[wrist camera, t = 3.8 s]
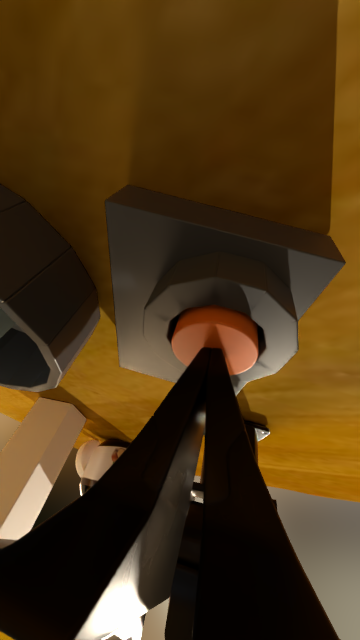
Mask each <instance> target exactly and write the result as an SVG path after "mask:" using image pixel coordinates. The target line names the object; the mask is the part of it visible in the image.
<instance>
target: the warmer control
mask: <svg viewBox="0 0 360 640" xmlns="http://www.w3.org/2000/svg"><path fill="white" fill-rule="evenodd" d="M105 209H106V220H107V231H108V242H109V254H110V265H111V276H112V287H113V298H114V309H115V320H116V332H117V343H118V354H119V365H120V367H122V368H126V369H129V370H133V371H136V372H140V373H143V374H147V375H150V376H154V377H157V378H161V379H164V380H168V381H171V382H175V383H176V382H177V381H178V379H179V378H180V377H181V375H182V374H183V372H184V371H185V370H186V368H187V367H188V366H186V365H184V364H183V363H182V362H181V361H180V360H179V359H178V358H177V357H176V356H175V354H174V352H173V350H172V345H171V341H172V337H173V334H174V331H175V328H176V325H177V322H178V319H179V316H180V313H181V312H182V311H184V310H185V309H186V308H193V307H201V306H208V305H218V306H221V307H225V308H229V309H232V310H236V311H240V312H243V313H246V314H247V315H248V316H249V317H250V318H251V319H252V320H254V321H255V322H256V323H257V326H258V358H257V360H256V362H255V363H254V365H253V366H252V367H251V368H249V369H248V370H246V371H244V372H242V373H239V374H235V375H230V377H231V381H232V384H233V387H234V391H235V394H236V395H237V394H238V393H239V391H240V390H241V389H242V388H243V387H244V385H245V384H246V383H247V382H249V381H252V380H255V379H258V378H262V377H265V376H268V375H271V374H274V373H277V372H278V371H279V370H280V369H281V368H282V367H283V366H284V365H285V364H286V363H287V362H288V361H289V360H290V359H291V358H292V357H293V356H294V355H295V354H296V353H297V351H298V320H299V319H300V318H301V317H302V315H303V314H304V313H305V312H306V311H307V309H308V308H309V307H310V306H311V304H312V303H313V302H314V301H315V300H316V298H317V297H318V296H319V295H320V294H321V292H322V291H323V290H324V289H325V288H326V286H327V285H328V284H329V283H330V282H331V280H332V279H333V278H334V277H335V276H336V274H337V273H338V272H339V271H340V269H341V268H342V267H343V266H344V265H345V263H346V262H345V260H344V259H343V257H342V255H341V254H340V252H339V250H338V248H337V247H336V245H335V243H334V242H333V240H332V238H331V237H330V236H327V235H323V234H319V233H315V232H312V231H308V230H304V229H300V228H296V227H292V226H288V225H284V224H280V223H276V222H272V221H268V220H264V219H260V218H256V217H253V216H249V215H245V214H241V213H237V212H233V211H229V210H225V209H221V208H217V207H213V206H209V205H205V204H201V203H197V202H194V201H190V200H186V199H182V198H178V197H174V196H170V195H166V194H162V193H158V192H154V191H150V190H146V189H142V188H139V187H135V186H131V185H126V186H125V187H123V188H122V189H121V190H119V191H118V192H116V193H115V194H113V195H112V196H110V197H109V198H108V199H106V200H105Z"/></svg>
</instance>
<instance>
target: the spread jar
mask: <svg viewBox="0 0 360 640" xmlns="http://www.w3.org/2000/svg"><path fill="white" fill-rule="evenodd" d="M129 445H130V443H128V442H125V441H121V440H117V439H108V440H106V441H104V442H102V443H100V442H98V441H97V440H91V441H88V442H85V443H84V444H82V445H81V447H80V448H79V450H78V452H77V455H76V469H77V472H78V474H79V476H80V477H81V478H82V479H81V484H80V491H81V496H82V495H83V494H84V493H85V492H87V491H88V490H89V489H90V488H91V487H92V486H93V485H94V484H95V483H96V482H97V481H98V480H99V479H100V478H101V477H102V476H103V474H104V473H105V472H106V471H107V470H108V469H109V468H110V467H111V465H112V464H113V463H114V462H115V461H116V460H117V459H118V458H119V456H120V455H121V454H122V453H123V452H124V451H125V450H126V448H127V447H128V446H129Z"/></svg>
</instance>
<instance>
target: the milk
mask: <svg viewBox="0 0 360 640" xmlns="http://www.w3.org/2000/svg"><path fill="white" fill-rule="evenodd" d="M85 422H86V418H85V417H84V416H83V415H82V414H81V413H80V412H79V411H78V410H77V409H76V407H75V406H74V405H73V404H70V403H65V402H60V401H56V400H51V399H46V398H41V397H39V399H38V400H37V401H36V403H35V404H34V406H33V407H32V408H31V410H30V411H29V413H28V414H27V416H26V417H25V418H24V420H23V421H22V423H21V424H20V425H19V427H18V428H17V430H16V431H15V433H14V434H13V436H12V437H11V438H10V440H9V441H8V443H7V444H6V445H5V447H4V448H3V450H2V451H1V452H0V539H11V540H18V539H20V538H21V537H22V536H24V535H25V534H27V533H28V532H30V530H31V528H32V526H33V524H34V522H35V520H36V518H37V516H38V514H39V512H40V510H41V509H42V506H43V504H44V503H45V501H46V498H47V497H48V495H49V493H50V491H51V489H52V487H53V485H54V483H55V481H56V479H57V477H58V475H59V473H60V471H61V469H62V467H63V465H64V463H65V461H66V459H67V457H68V455H69V453H70V451H71V449H72V447H73V445H74V443H75V442H76V440H77V438H78V436H79V434H80V432H81V430H82V428H83V426H84V424H85Z"/></svg>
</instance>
